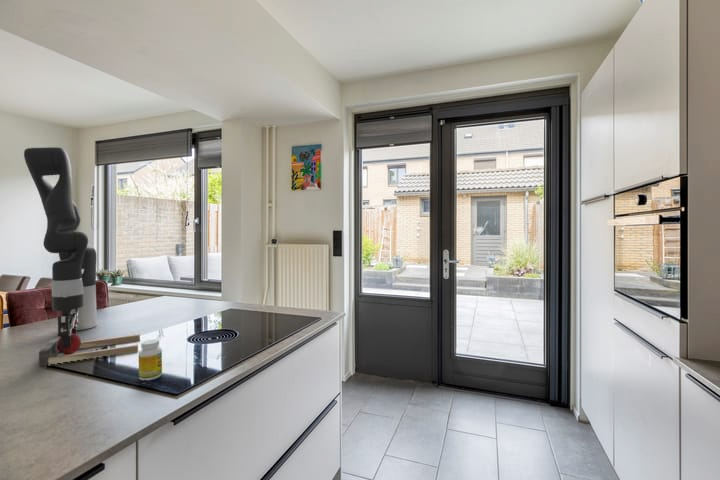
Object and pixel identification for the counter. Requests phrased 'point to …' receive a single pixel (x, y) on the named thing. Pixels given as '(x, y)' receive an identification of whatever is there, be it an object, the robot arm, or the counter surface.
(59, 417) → the counter surface
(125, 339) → the guide rails
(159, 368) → the supplement bottle
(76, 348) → the onion
